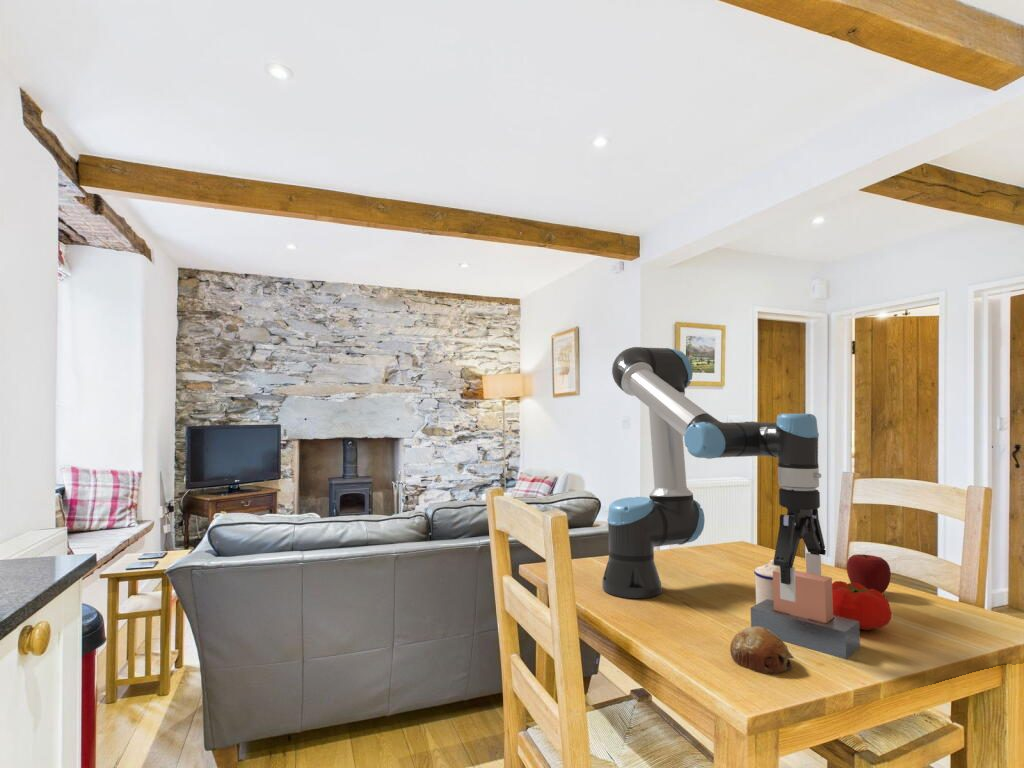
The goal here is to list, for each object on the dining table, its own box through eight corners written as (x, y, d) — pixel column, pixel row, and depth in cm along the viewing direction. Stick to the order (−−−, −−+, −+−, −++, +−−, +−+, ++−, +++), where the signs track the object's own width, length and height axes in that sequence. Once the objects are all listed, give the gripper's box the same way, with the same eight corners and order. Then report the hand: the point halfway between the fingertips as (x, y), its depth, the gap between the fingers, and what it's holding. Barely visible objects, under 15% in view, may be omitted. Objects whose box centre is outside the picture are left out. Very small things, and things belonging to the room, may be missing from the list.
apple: (867, 586, 148) (866, 548, 148) (901, 598, 138) (899, 557, 139) (838, 590, 145) (837, 551, 146) (871, 601, 136) (869, 560, 137)
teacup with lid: (792, 620, 124) (791, 567, 124) (749, 611, 129) (748, 560, 130) (805, 606, 133) (803, 556, 134) (765, 598, 139) (763, 551, 139)
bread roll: (765, 669, 108) (748, 626, 112) (809, 665, 100) (790, 618, 104) (729, 681, 103) (714, 635, 107) (773, 677, 96) (754, 628, 99)
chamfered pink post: (774, 624, 116) (772, 571, 117) (782, 620, 119) (780, 567, 119) (826, 639, 109) (824, 581, 109) (833, 633, 111) (831, 577, 112)
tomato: (887, 644, 111) (885, 599, 111) (817, 629, 119) (815, 587, 119) (896, 624, 121) (895, 583, 122) (831, 611, 129) (829, 573, 130)
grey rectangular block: (751, 631, 118) (750, 607, 118) (767, 622, 123) (766, 599, 123) (846, 659, 104) (845, 631, 104) (860, 647, 110) (859, 621, 110)
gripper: (793, 496, 104) (796, 611, 103) (839, 484, 121) (842, 583, 120) (753, 492, 110) (756, 601, 109) (803, 481, 126) (805, 576, 125)
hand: (801, 592), depth 114 cm, fingers open, 13 cm apart
